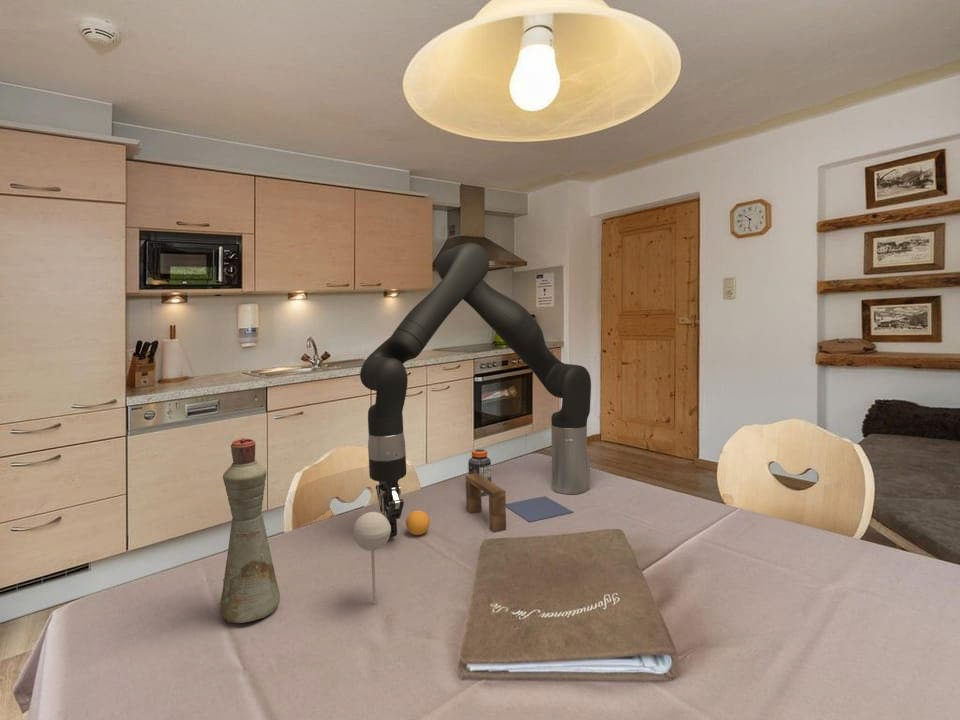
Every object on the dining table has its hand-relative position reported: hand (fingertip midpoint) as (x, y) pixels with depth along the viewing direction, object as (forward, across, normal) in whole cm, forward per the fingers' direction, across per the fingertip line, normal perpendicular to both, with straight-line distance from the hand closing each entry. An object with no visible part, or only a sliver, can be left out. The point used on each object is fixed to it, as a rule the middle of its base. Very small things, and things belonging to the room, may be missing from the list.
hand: (391, 535), depth 106 cm
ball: (-2, 0, -6) cm, 6 cm away
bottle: (+1, -15, +27) cm, 31 cm away
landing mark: (+1, 0, -36) cm, 36 cm away
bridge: (+1, 0, -22) cm, 22 cm away
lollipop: (+1, -22, +9) cm, 24 cm away
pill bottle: (+2, +17, -29) cm, 33 cm away
